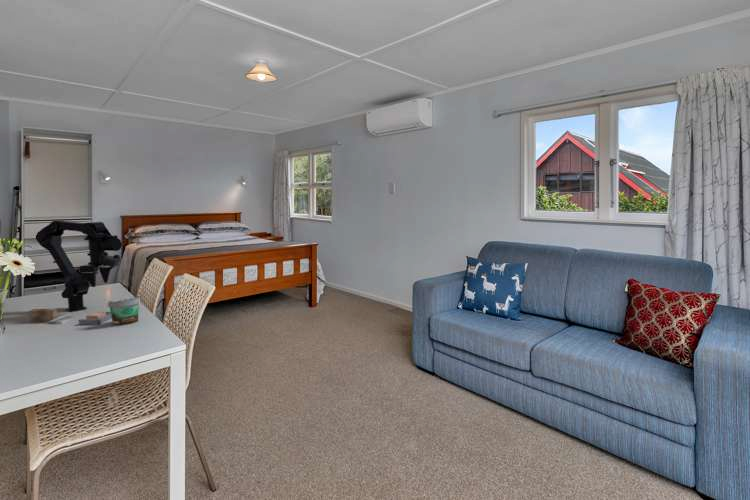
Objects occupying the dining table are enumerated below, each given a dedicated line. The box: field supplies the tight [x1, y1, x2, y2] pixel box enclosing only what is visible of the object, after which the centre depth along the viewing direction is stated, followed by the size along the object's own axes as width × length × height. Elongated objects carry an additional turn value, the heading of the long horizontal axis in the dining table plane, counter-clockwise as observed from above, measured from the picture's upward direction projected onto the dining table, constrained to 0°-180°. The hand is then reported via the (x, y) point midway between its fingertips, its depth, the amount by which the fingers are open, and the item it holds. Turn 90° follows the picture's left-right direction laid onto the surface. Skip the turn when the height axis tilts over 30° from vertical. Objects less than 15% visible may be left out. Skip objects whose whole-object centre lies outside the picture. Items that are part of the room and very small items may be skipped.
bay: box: [78, 311, 112, 326], centre depth 174 cm, size 8×12×2 cm, turn 4°
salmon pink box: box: [85, 311, 106, 319], centre depth 173 cm, size 5×5×3 cm
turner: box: [29, 308, 75, 325], centre depth 172 cm, size 14×8×5 cm, turn 94°
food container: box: [107, 295, 141, 326], centre depth 170 cm, size 12×6×10 cm, turn 148°
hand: (99, 284), depth 187 cm, fingers open, 9 cm apart
